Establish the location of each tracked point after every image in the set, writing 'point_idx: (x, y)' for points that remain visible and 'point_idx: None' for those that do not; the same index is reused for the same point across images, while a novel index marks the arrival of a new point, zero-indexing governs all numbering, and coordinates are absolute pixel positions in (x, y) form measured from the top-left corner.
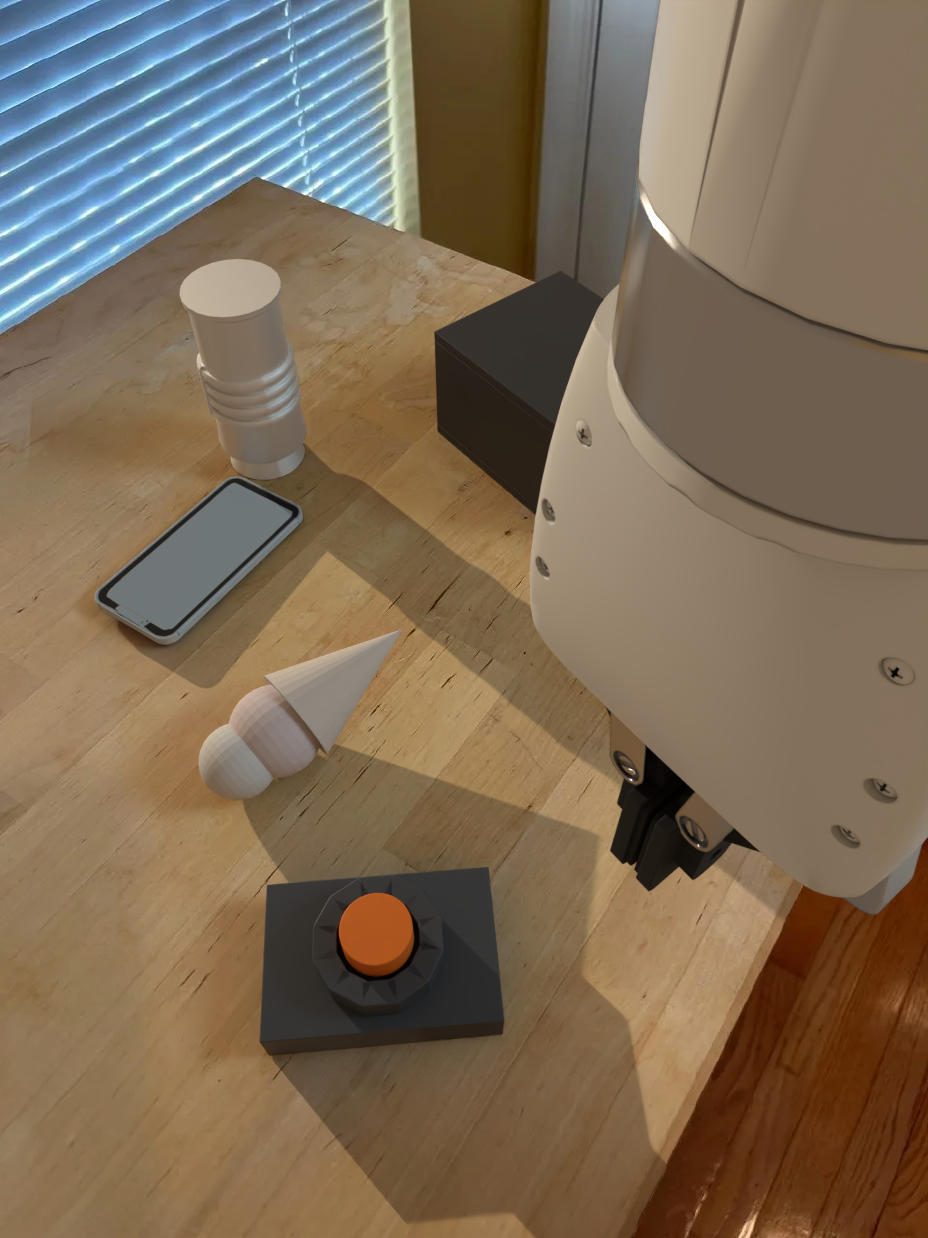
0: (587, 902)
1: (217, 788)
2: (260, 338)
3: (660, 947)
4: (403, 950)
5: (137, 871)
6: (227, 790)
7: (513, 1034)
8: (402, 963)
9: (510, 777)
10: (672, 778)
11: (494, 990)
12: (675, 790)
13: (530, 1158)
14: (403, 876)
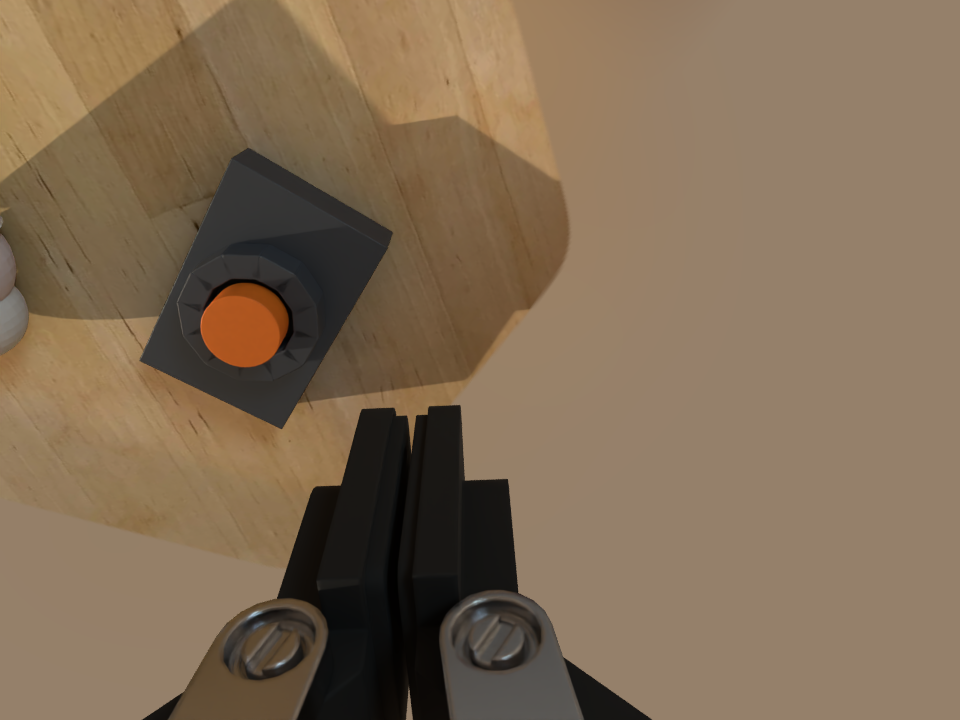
0: (325, 59)
1: (3, 353)
2: None
3: (417, 23)
4: (276, 323)
5: (69, 422)
6: (10, 346)
7: (398, 223)
8: (285, 315)
9: (128, 25)
10: (377, 713)
11: (357, 238)
12: (396, 686)
13: (493, 275)
14: (196, 244)
